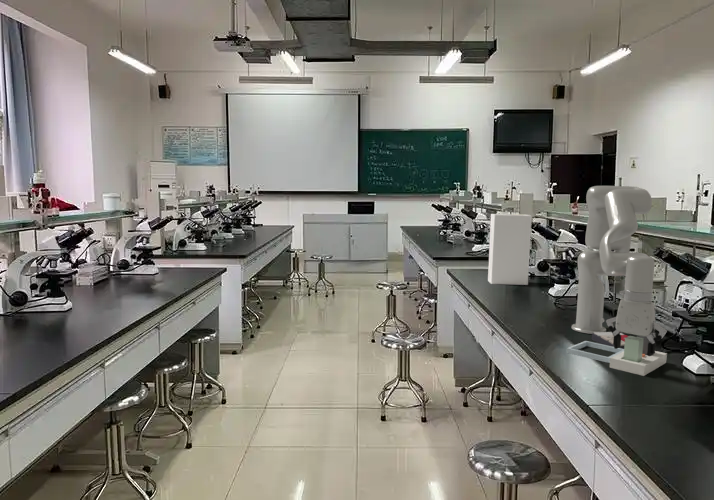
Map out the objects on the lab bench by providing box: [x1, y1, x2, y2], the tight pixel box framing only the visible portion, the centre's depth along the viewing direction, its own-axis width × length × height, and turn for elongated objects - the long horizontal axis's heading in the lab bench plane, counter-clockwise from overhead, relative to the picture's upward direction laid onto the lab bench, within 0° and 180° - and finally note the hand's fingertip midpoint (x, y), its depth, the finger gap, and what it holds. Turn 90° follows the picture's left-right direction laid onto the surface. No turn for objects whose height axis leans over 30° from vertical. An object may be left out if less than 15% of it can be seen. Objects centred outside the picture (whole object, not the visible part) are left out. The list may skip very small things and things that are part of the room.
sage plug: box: [624, 335, 644, 363], centre depth 171 cm, size 4×4×10 cm
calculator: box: [591, 331, 629, 349], centre depth 197 cm, size 11×4×15 cm
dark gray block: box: [636, 332, 656, 356], centre depth 177 cm, size 4×4×10 cm
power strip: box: [609, 350, 668, 377], centre depth 174 cm, size 19×10×5 cm, turn 133°
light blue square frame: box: [566, 340, 624, 364], centre depth 186 cm, size 14×14×2 cm
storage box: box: [487, 213, 533, 286], centre depth 324 cm, size 21×10×40 cm, turn 88°
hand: (633, 351), depth 171 cm, fingers open, 9 cm apart
